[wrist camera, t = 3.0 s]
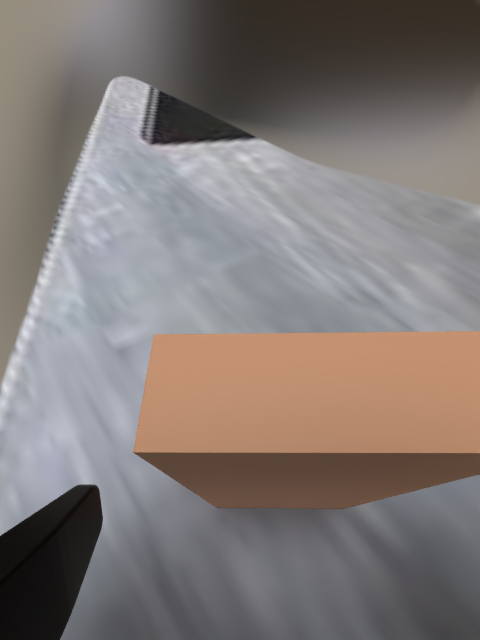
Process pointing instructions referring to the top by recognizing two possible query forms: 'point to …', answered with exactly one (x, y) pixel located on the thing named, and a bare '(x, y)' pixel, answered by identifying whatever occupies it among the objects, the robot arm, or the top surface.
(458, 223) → the top surface
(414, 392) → the terracotta domino
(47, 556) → the robot arm
